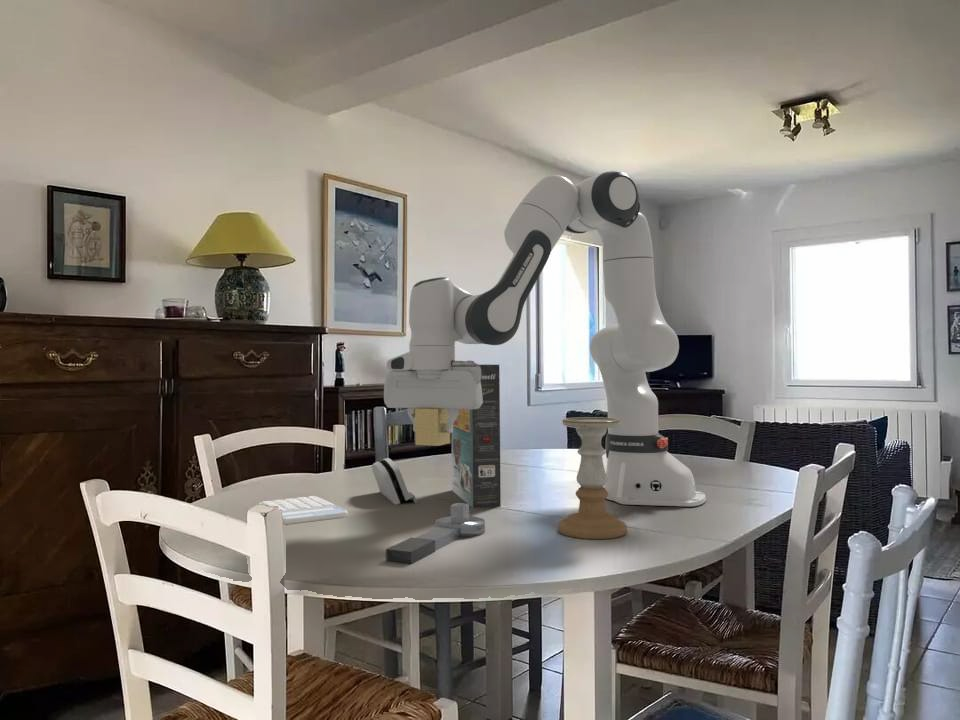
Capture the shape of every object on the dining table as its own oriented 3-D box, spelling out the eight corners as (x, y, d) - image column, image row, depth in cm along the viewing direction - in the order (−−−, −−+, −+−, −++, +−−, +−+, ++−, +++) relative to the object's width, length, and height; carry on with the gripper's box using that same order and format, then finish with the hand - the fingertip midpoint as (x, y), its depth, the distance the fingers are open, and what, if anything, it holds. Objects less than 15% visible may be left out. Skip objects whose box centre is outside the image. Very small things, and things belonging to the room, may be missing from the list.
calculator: (317, 503, 163) (317, 494, 163) (350, 519, 146) (350, 509, 146) (256, 509, 156) (256, 501, 156) (283, 527, 139) (283, 517, 139)
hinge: (417, 503, 160) (402, 460, 158) (397, 511, 158) (381, 469, 157) (400, 490, 175) (386, 451, 174) (382, 498, 174) (367, 459, 173)
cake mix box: (500, 506, 155) (499, 364, 155) (472, 507, 154) (471, 364, 154) (476, 489, 176) (475, 364, 176) (452, 490, 175) (450, 364, 175)
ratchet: (448, 525, 138) (448, 498, 138) (492, 529, 135) (492, 501, 135) (373, 560, 114) (373, 528, 114) (424, 566, 110) (424, 533, 110)
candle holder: (627, 525, 136) (626, 416, 136) (627, 541, 124) (626, 422, 124) (561, 522, 139) (560, 416, 139) (554, 538, 127) (553, 421, 127)
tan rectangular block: (450, 443, 144) (449, 407, 144) (438, 445, 139) (438, 409, 139) (427, 442, 146) (427, 406, 146) (415, 444, 141) (415, 408, 141)
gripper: (487, 360, 141) (488, 432, 141) (395, 361, 150) (396, 429, 150) (473, 360, 136) (474, 435, 135) (379, 361, 144) (380, 431, 144)
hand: (432, 432), depth 143 cm, fingers closed on tan rectangular block, 5 cm apart
